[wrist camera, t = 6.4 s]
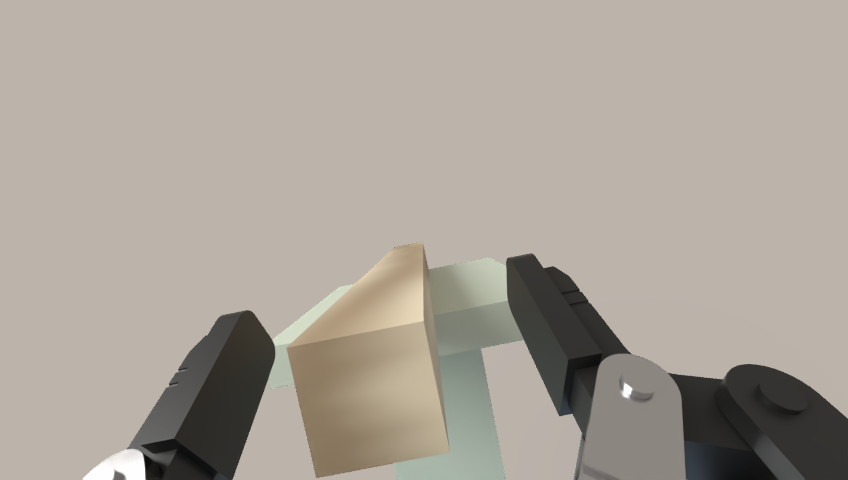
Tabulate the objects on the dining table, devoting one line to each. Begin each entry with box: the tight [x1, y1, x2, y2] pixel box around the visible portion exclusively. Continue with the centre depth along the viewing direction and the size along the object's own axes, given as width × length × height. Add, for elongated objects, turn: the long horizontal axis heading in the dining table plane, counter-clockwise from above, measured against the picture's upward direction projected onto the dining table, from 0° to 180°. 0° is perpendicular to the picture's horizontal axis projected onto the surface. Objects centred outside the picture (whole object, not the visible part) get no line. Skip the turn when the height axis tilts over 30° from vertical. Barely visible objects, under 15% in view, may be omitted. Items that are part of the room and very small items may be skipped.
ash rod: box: [286, 242, 450, 478], centre depth 17 cm, size 3×22×3 cm, turn 0°
